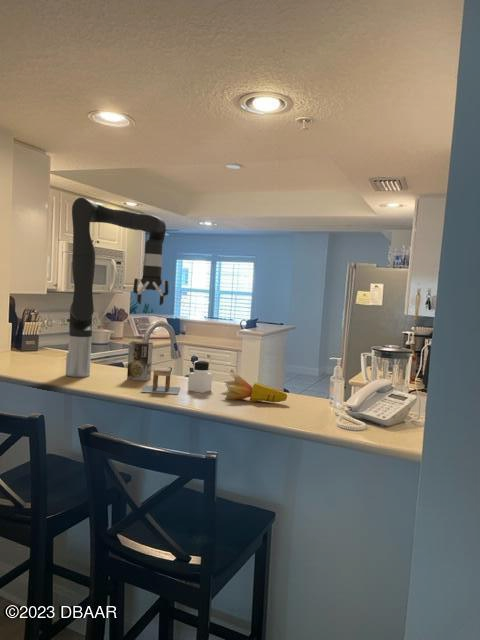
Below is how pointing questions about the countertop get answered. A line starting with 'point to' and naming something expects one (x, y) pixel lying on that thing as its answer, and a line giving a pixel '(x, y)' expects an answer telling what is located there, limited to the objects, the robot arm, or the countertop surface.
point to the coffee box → (139, 361)
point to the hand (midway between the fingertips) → (150, 304)
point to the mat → (160, 390)
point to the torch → (252, 391)
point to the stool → (161, 372)
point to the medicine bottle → (200, 378)
